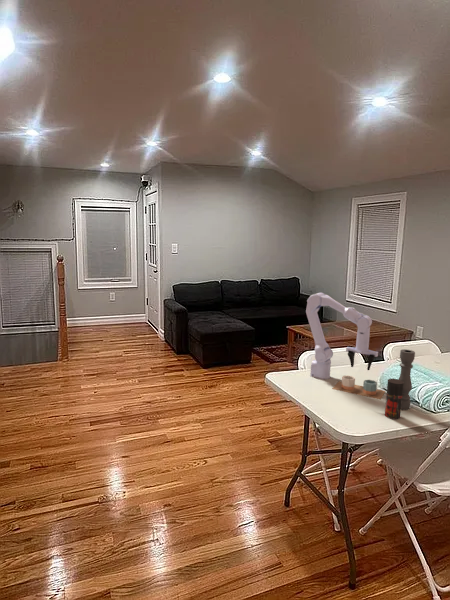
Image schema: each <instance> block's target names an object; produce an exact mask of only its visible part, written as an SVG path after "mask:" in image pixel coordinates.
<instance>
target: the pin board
mask: <svg viewBox="0 0 450 600" xmlns="http://www.w3.org/2000/svg"><path fill="white" fill-rule="evenodd" d="M370 384H371V383H370ZM341 386H342V381H338V382H336V384H334V386H333V387H332V388H331V390H334V391H335V390H336V391H340V392H345V393H350V394H353V395H359V396H362V397H367V398H370V399H371V398H372V399H376V400H382V398H383V397H384V394H385V393H386V390H383V389H377V391H376V394H374V395H370V394H365V393H364V392H363V385H359V384H355V388H354V389H353V390H347V389H343V388H342V387H341Z"/></svg>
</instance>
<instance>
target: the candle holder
mask: <svg viewBox="0 0 450 600" xmlns="http://www.w3.org/2000/svg"><path fill="white" fill-rule="evenodd" d="M415 357H416V352H415V350H412V349H400V353H399V360H400V362H401V363H399V366H400V375H399V377H398V380H401V381H403V382H404V384H403V394H402V404H401V411H409V410H410V409H411V403H412V402H411V401H412V400H411V396H410V392H411V391H412V390H413V389H412V388H413V385H412V377H411V371H412V369H413V368H414V365H413V363H414V360H415Z"/></svg>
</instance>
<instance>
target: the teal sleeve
mask: <svg viewBox="0 0 450 600" xmlns="http://www.w3.org/2000/svg"><path fill="white" fill-rule="evenodd" d="M370 383H371V384H370ZM362 386H363V392H364V393H365V394H370V395H374V394H376V391H377V388H378V382H377V381H376V380H372V379H364V380H363V385H362Z"/></svg>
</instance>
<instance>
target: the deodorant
mask: <svg viewBox="0 0 450 600" xmlns="http://www.w3.org/2000/svg"><path fill="white" fill-rule="evenodd" d="M403 384H404V382H403V381H401V380H399V378H388V379H387V384H386V397H385V405H384V408H385V409H384V416H385V418H387V419H391V420H399V419H401V413H402V410H401V404H402V394H403Z"/></svg>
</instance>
